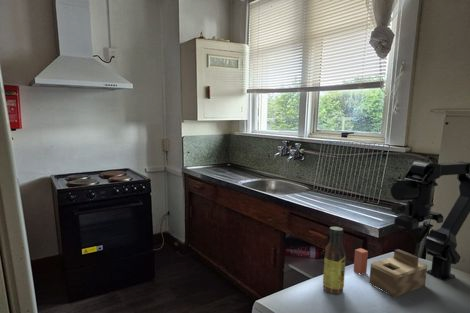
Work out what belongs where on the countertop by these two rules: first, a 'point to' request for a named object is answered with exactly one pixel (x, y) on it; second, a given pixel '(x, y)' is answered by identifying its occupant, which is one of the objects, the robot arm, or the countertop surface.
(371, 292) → the countertop surface
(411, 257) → the lid
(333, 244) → the sauce bottle
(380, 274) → the wooden box
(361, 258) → the block
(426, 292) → the countertop surface
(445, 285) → the countertop surface
